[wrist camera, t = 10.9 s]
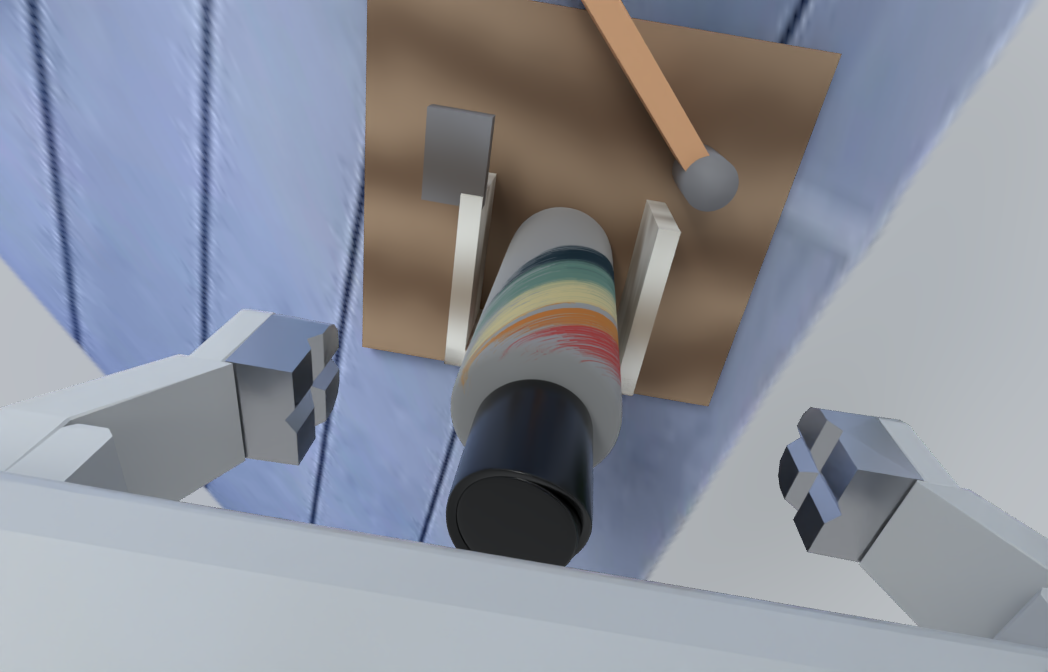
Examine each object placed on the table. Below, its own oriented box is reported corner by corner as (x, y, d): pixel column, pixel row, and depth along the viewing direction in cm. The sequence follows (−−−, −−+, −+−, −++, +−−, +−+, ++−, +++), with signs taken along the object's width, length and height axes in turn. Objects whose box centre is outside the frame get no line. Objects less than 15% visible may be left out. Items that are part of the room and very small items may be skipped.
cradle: (374, -26, 27) (324, -41, 21) (832, 53, 27) (896, 58, 21) (367, 339, 36) (332, 391, 31) (705, 397, 36) (727, 459, 31)
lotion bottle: (573, 318, 33) (547, 642, 16) (491, 266, 32) (366, 550, 15) (633, 242, 31) (681, 529, 13) (546, 183, 30) (473, 409, 12)
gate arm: (729, 174, 28) (748, 191, 25) (686, 202, 29) (699, 221, 26) (590, -72, 24) (592, -87, 21) (544, -32, 25) (540, -41, 22)
